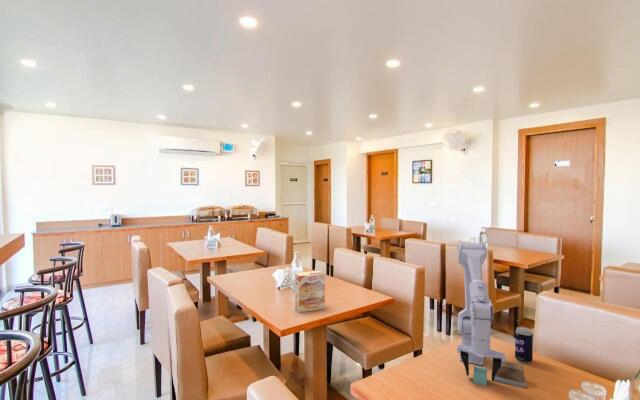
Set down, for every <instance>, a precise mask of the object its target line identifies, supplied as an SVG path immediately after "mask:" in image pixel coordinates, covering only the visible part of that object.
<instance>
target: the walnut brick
mask: <svg viewBox="0 0 640 400" xmlns="http://www.w3.org/2000/svg"><path fill="white" fill-rule="evenodd" d="M524 373H525V370H524V365H523V364H520V363H515V362H510V361H506V360H505V362H503V361H501V367H500V368H499V369H498V371H497V373H496V376H497V377H502V378H506V379H511V380H515V381H520V382H524V379H525V374H524Z"/></svg>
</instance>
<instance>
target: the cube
mask: <svg viewBox="0 0 640 400" xmlns="http://www.w3.org/2000/svg"><path fill="white" fill-rule="evenodd" d="M472 378H473V384H477V385H481V386H488V385H487V383H488V370H487V368H486V367H482V366H479V365H478V366H477V365H473V377H472Z"/></svg>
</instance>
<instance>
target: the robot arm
mask: <svg viewBox="0 0 640 400" xmlns="http://www.w3.org/2000/svg"><path fill="white" fill-rule="evenodd" d="M456 249H457V254H456V255H457V263H458V264H459V265H461V266H462V268H463V278H464V279H463V280H464V281H463V282H464V305H465V307H464V308H463V309H462V310H461V311H459V312H458V314H457V324H456V325H457V331H458V333H459V334H460V335H461V344H457V347H456V353H458V354H459V361H460V362H462V363H463V366H464V369H465V374H466V376H468V377H469V376H470V364H473V365H478V366H484V358H489V359H492V364H491V365H492V368H491V369H492V370H491V382H495V376H496V373H497V371H498V369H499V368H500V367H501V361H503V362H505V361H506V353H505V352H500V351H497V350H493V349H492V348H491V330H492V329H491V326H492V325H491V322H492V321H493V320H494V308H493V307H494V306H493V303H492V301H491V299H490V296H489V291H488V286H487V285H488V284H487V283H486V282H484V281H483V266H482V265H484V263H485V260H486V259H487V255H488V251H487V250H488V249H487V245H486V244H485V243H484V242H483V243H477V242H476V243H475V242H474V243H473V242H458V243H457V248H456ZM469 363H470V364H469Z"/></svg>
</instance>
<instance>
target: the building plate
mask: <svg viewBox="0 0 640 400" xmlns="http://www.w3.org/2000/svg"><path fill="white" fill-rule="evenodd" d="M494 382H497V383H502V384H505V385H510V386H515V387H519V388H523V389H526V388H527V384H526V379H525V378H524V382H520V381H515V380H511V379H506V378H502V377H497V376H495V379H494Z"/></svg>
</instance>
